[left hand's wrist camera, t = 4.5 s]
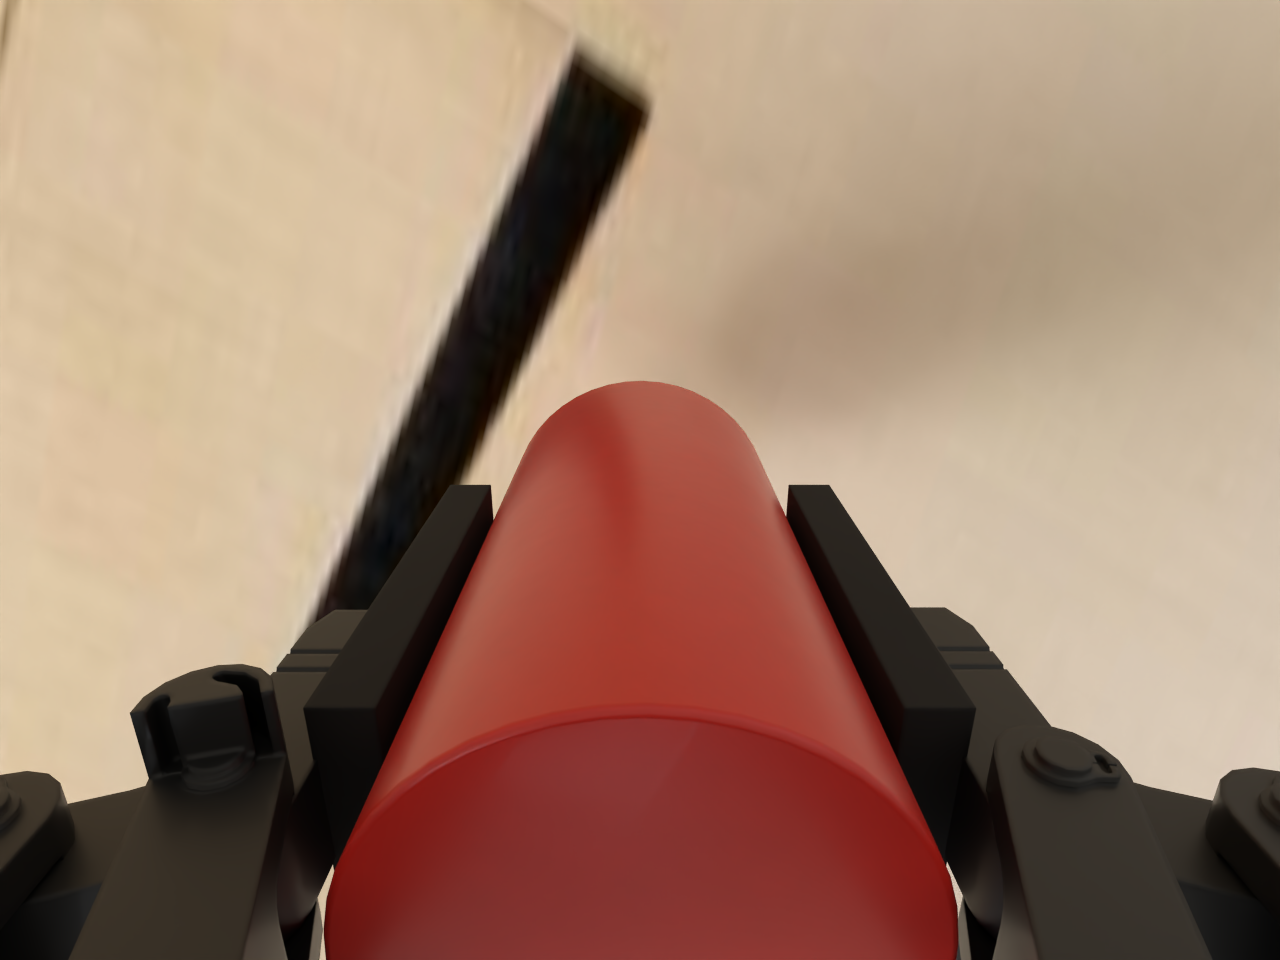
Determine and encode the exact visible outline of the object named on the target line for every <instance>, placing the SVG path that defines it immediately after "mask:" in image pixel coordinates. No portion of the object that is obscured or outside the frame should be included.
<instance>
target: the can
mask: <svg viewBox="0 0 1280 960" xmlns="http://www.w3.org/2000/svg"><path fill="white" fill-rule="evenodd" d="M324 942H325V953H326V960H956V957H957V950H958V942H959V934H958V910H957V903H956V899H955V894H954V890H953V886H952V881H951V877H950V874H949V872H948V870H947V868H946V865H945V863H944V861H943V858H942V856H941V854H940V851H939V849H938V847H937V845H936V842H935V840H934V838H933V836H932V834H931V832H930V829H929V827H928V825H927V823H926V821H925V818H924V816H923V814H922V812H921V810H920V808H919V805H918V803H917V801H916V799H915V797H914V795H913V792H912V790H911V788H910V786H909V784H908V781H907V779H906V777H905V775H904V773H903V771H902V768H901V766H900V764H899V762H898V760H897V758H896V755H895V753H894V751H893V749H892V747H891V744H890V742H889V740H888V738H887V736H886V734H885V731H884V729H883V727H882V725H881V723H880V720H879V718H878V716H877V714H876V712H875V710H874V707H873V705H872V703H871V701H870V699H869V697H868V694H867V692H866V690H865V688H864V686H863V683H862V681H861V679H860V677H859V675H858V673H857V670H856V668H855V666H854V664H853V662H852V660H851V657H850V655H849V653H848V651H847V649H846V646H845V644H844V642H843V640H842V638H841V636H840V633H839V631H838V629H837V627H836V625H835V623H834V620H833V618H832V616H831V614H830V612H829V609H828V607H827V605H826V603H825V601H824V599H823V596H822V594H821V592H820V590H819V588H818V585H817V583H816V581H815V579H814V577H813V575H812V572H811V570H810V568H809V566H808V564H807V562H806V559H805V557H804V555H803V553H802V551H801V548H800V546H799V544H798V542H797V540H796V538H795V535H794V533H793V531H792V529H791V527H790V525H789V522H788V520H787V518H786V516H785V514H784V511H783V509H782V507H781V505H780V503H779V501H778V498H777V496H776V494H775V492H774V490H773V488H772V485H771V483H770V481H769V479H768V477H767V474H766V472H765V470H764V468H763V466H762V464H761V461H760V459H759V457H758V455H757V453H756V451H755V448H754V446H753V445H752V443H751V441H750V440H749V438H748V437H747V435H746V433H745V432H744V431H743V430H742V428H741V427H740V426H739V425H738V424H737V422H736V421H735V420H734V419H733V418H732V417H731V416H730V415H728V414H727V413H726V412H725V411H724V410H723V409H722V408H720V407H719V406H717V405H716V404H714V403H713V402H711V401H710V400H709V399H707V398H705V397H703V396H701V395H699V394H697V393H695V392H693V391H690V390H687V389H684V388H681V387H678V386H675V385H670V384H665V383H661V382H649V381H633V382H622V383H616V384H611V385H606V386H603V387H600V388H597V389H594V390H591V391H589V392H587V393H585V394H582V395H580V396H578V397H576V398H574V399H573V400H571V401H570V402H568V403H567V404H565V405H564V406H562V407H561V408H560V409H558V410H557V411H556V412H555V413H554V414H553V415H551V416H550V417H549V418H548V419H547V420H546V422H545V423H544V424H543V425H542V426H541V427H540V428H539V429H538V431H537V432H536V434H535V435H534V437H533V438H532V440H531V441H530V443H529V445H528V447H527V449H526V451H525V453H524V455H523V457H522V459H521V461H520V464H519V466H518V468H517V470H516V472H515V475H514V477H513V479H512V481H511V483H510V486H509V488H508V490H507V492H506V494H505V497H504V499H503V501H502V503H501V505H500V508H499V510H498V512H497V514H496V516H495V519H494V521H493V523H492V525H491V527H490V530H489V532H488V534H487V536H486V538H485V541H484V543H483V545H482V547H481V549H480V552H479V554H478V556H477V558H476V560H475V562H474V565H473V567H472V569H471V571H470V573H469V576H468V578H467V580H466V582H465V584H464V587H463V589H462V591H461V593H460V595H459V598H458V600H457V602H456V604H455V606H454V609H453V611H452V613H451V615H450V617H449V620H448V622H447V624H446V626H445V628H444V631H443V633H442V635H441V637H440V639H439V642H438V644H437V646H436V648H435V650H434V653H433V655H432V657H431V659H430V661H429V663H428V666H427V668H426V670H425V672H424V674H423V677H422V679H421V681H420V683H419V685H418V688H417V690H416V692H415V694H414V696H413V699H412V701H411V703H410V705H409V707H408V710H407V712H406V714H405V716H404V718H403V721H402V723H401V725H400V727H399V729H398V732H397V734H396V736H395V738H394V740H393V743H392V745H391V747H390V749H389V751H388V754H387V756H386V758H385V760H384V762H383V765H382V767H381V769H380V771H379V773H378V775H377V778H376V780H375V782H374V784H373V786H372V789H371V791H370V793H369V795H368V797H367V800H366V802H365V804H364V806H363V808H362V811H361V813H360V815H359V817H358V819H357V822H356V824H355V826H354V828H353V830H352V833H351V835H350V837H349V839H348V841H347V844H346V846H345V848H344V850H343V852H342V855H341V857H340V859H339V861H338V863H337V866H336V868H335V871H334V874H333V878H332V881H331V885H330V888H329V892H328V895H327V900H326V910H325V921H324Z"/></svg>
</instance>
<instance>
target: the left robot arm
mask: <svg viewBox="0 0 1280 960" xmlns="http://www.w3.org/2000/svg"><path fill="white" fill-rule="evenodd" d="M786 518H787V520H788V522H789V525H790V527H791V529H792V531H793V533H794V535H795V538H796V540H797V542H798V544H799V546H800V548H801V551H802V553H803V555H804V557H805V559H806V562H807V564H808V566H809V568H810V570H811V572H812V575H813V577H814V579H815V581H816V583H817V585H818V588H819V590H820V592H821V594H822V596H823V599H824V601H825V603H826V605H827V607H828V609H829V612H830V614H831V616H832V618H833V620H834V623H835V625H836V627H837V629H838V631H839V633H840V636H841V638H842V640H843V642H844V644H845V646H846V649H847V651H848V653H849V655H850V657H851V660H852V662H853V664H854V666H855V668H856V670H857V673H858V675H859V677H860V679H861V681H862V683H863V686H864V688H865V690H866V692H867V694H868V697H869V699H870V701H871V703H872V705H873V707H874V710H875V712H876V714H877V716H878V718H879V720H880V723H881V725H882V727H883V729H884V731H885V734H886V736H887V738H888V740H889V742H890V744H891V747H892V749H893V751H894V753H895V755H896V758H897V760H898V762H899V764H900V766H901V768H902V771H903V773H904V775H905V777H906V779H907V781H908V784H909V786H910V788H911V790H912V792H913V795H914V797H915V799H916V801H917V803H918V805H919V808H920V810H921V812H922V814H923V816H924V818H925V821H926V823H927V825H928V827H929V829H930V832H931V834H932V836H933V838H934V840H935V842H936V845H937V847H938V849H939V851H940V854H941V856H942V858H943V861H944V863H945V865H946V864H947V862H948V864H949V866H950V869H951V871H952V873H953V875H954V877H955V879H956V882H957V884H958V886H959V888H960V890H961V892H962V894H963V898H962V903H961V908H960V912H959V917H958V934H959V942H958V950H957V957H956V960H1280V771H1273V770H1266V769H1259V768H1246V769H1238V770H1232V771H1230V772H1229V773H1228V774H1227V775H1225V776H1224V777H1223V778H1222V779H1220V782H1219V785H1218V788H1217V791H1216V793H1215V796H1214V799H1213V801H1211V800H1207V799H1202V798H1197V797H1193V796H1188V795H1184V794H1179V793H1175V792H1170V791H1165V790H1161V789H1156V788H1152V787H1148V786H1144V785H1141V784H1137V783H1134V782H1133V780H1132V778H1131V777H1130V775H1129V774H1128V772H1127V771H1126V770H1125V768H1124V767H1123V766H1122V764H1121V763H1120V761H1119V760H1118V759H1116V758H1115V757H1114V756H1112V755H1111V754H1110V753H1109V752H1107V751H1106V750H1105V749H1103V748H1102V747H1101V746H1099V745H1098V744H1096V743H1094V742H1092V741H1090V740H1088V739H1086V738H1084V737H1082V736H1079V735H1077V734H1075V733H1073V732H1069V731H1066V730H1062V729H1058V728H1055V727H1051V725H1050V724H1049V723H1048V722H1047V720H1046V719H1045V718H1044V717H1043V715H1042V714H1041V713H1040V711H1039V710H1038V709H1037V708H1036V706H1035V705H1034V704H1033V702H1032V701H1031V700H1030V699H1029V697H1028V696H1027V695H1026V693H1025V692H1024V691H1023V690H1022V688H1021V687H1020V686H1019V684H1018V683H1017V682H1016V681H1015V679H1014V678H1013V677H1012V675H1011V674H1010V673H1009V672H1008V670H1007V669H1003V664H1002V663H1001V661H1000V660H999V659H998V657H997V656H996V655H995V654H994V652H993V651H990V650H989V646H988V645H987V643H986V642H985V641H984V640H983V638H982V637H981V636H980V634H979V633H978V632H977V631H976V629H975V628H974V627H973V626H972V625H971V624H969V623H968V622H966V621H965V620H963V619H962V618H960V617H959V616H957V615H956V614H954V613H953V612H951V611H949V610H948V609H946V608H910V607H909V605H908V604H907V602H906V601H905V599H904V598H903V596H902V595H901V593H900V592H899V590H898V589H897V587H896V586H895V584H894V583H893V581H892V579H891V578H890V576H889V575H888V573H887V572H886V570H885V569H884V567H883V566H882V564H881V563H880V561H879V560H878V558H877V557H876V555H875V554H874V552H873V551H872V549H871V548H870V546H869V545H868V543H867V542H866V540H865V539H864V537H863V536H862V534H861V533H860V531H859V530H858V528H857V526H856V525H855V523H854V522H853V520H852V519H851V517H850V516H849V514H848V513H847V511H846V510H845V508H844V507H843V505H842V504H841V502H840V501H839V499H838V498H837V496H836V495H835V493H834V492H833V490H832V489H831V487H830V486H829V485H789V488H788V502H787V515H786ZM492 523H493V508H492V495H491V485H450V486H449V488H448V489H447V491H446V492H445V494H444V495H443V497H442V498H441V500H440V502H439V503H438V505H437V506H436V508H435V509H434V511H433V512H432V514H431V515H430V517H429V518H428V520H427V521H426V523H425V524H424V526H423V527H422V529H421V530H420V532H419V533H418V535H417V536H416V538H415V539H414V541H413V542H412V544H411V545H410V547H409V548H408V550H407V551H406V553H405V554H404V556H403V558H402V559H401V561H400V562H399V564H398V565H397V567H396V568H395V570H394V571H393V573H392V574H391V576H390V577H389V579H388V580H387V582H386V583H385V585H384V586H383V588H382V589H381V591H380V592H379V594H378V595H377V597H376V598H375V600H374V601H373V603H372V604H371V606H370V607H369V609H368V610H334V611H333V612H331V613H330V614H328V615H327V616H325V617H323V618H322V619H320V620H319V621H317V622H316V623H314V624H313V625H311V626H310V627H308V628H307V629H306V630H305V632H304V633H303V634H302V636H301V637H300V638H299V639H298V641H297V642H296V643H295V645H294V646H293V647H292V648H291V652H290V654H287V655H286V656H285V658H284V659H283V660H282V661H281V663H280V664H279V665H278V667H277V671H276V672H273V673H272V674H271V676H270V675H269V674H267V673H266V672H265V671H264V670H262V669H261V668H258V667H253V666H248V665H244V664H234V665H217V666H213V667H209V668H205V669H200V670H196V671H192V672H189V673H187V674H185V675H182V676H180V677H177V678H175V679H173V680H170V681H168V682H166V683H164V684H162V685H161V686H159V687H158V688H156V689H155V690H153V691H152V692H150V693H149V694H147V695H146V696H144V697H143V698H142V700H141V701H140V702H139V703H138V704H137V705H136V707H135V708H134V709H133V710H132V711H131V712H130V715H131V719H132V722H133V725H134V729H135V732H136V736H137V739H138V743H139V746H140V749H141V753H142V756H143V760H144V763H145V767H146V770H147V773H148V777H149V780H148V782H147V784H146V786H144V787H140V788H137V789H133V790H130V791H125V792H120V793H116V794H111V795H107V796H102V797H98V798H93V799H89V800H84V801H79V802H75V803H70V804H67V801H66V798H65V795H64V793H63V790H62V787H61V784H60V782H58V781H57V780H56V779H55V778H53V777H52V776H51V775H49V774H47V773H39V772H31V771H24V772H17V773H11V774H4V775H0V960H319V958H320V949H321V940H322V932H323V927H322V920H321V912H320V908H319V903H318V898H317V897H318V895H319V893H320V891H321V889H322V886H323V884H324V882H325V880H326V878H327V876H328V873H329V871H330V869H331V867H332V865H333V867H334V871H335V868H336V866H337V863H338V861H339V859H340V857H341V855H342V852H343V850H344V848H345V846H346V844H347V841H348V839H349V837H350V835H351V833H352V830H353V828H354V826H355V824H356V822H357V819H358V817H359V815H360V813H361V811H362V808H363V806H364V804H365V802H366V800H367V797H368V795H369V793H370V791H371V789H372V786H373V784H374V782H375V780H376V778H377V775H378V773H379V771H380V769H381V767H382V765H383V762H384V760H385V758H386V756H387V754H388V751H389V749H390V747H391V745H392V743H393V740H394V738H395V736H396V734H397V732H398V729H399V727H400V725H401V723H402V721H403V718H404V716H405V714H406V712H407V710H408V707H409V705H410V703H411V701H412V699H413V696H414V694H415V692H416V690H417V688H418V685H419V683H420V681H421V679H422V677H423V674H424V672H425V670H426V668H427V666H428V663H429V661H430V659H431V657H432V655H433V653H434V650H435V648H436V646H437V644H438V642H439V639H440V637H441V635H442V633H443V631H444V628H445V626H446V624H447V622H448V620H449V617H450V615H451V613H452V611H453V609H454V606H455V604H456V602H457V600H458V598H459V595H460V593H461V591H462V589H463V587H464V584H465V582H466V580H467V578H468V576H469V573H470V571H471V569H472V567H473V565H474V562H475V560H476V558H477V556H478V554H479V552H480V549H481V547H482V545H483V543H484V541H485V538H486V536H487V534H488V532H489V530H490V527H491V525H492Z"/></svg>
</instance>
